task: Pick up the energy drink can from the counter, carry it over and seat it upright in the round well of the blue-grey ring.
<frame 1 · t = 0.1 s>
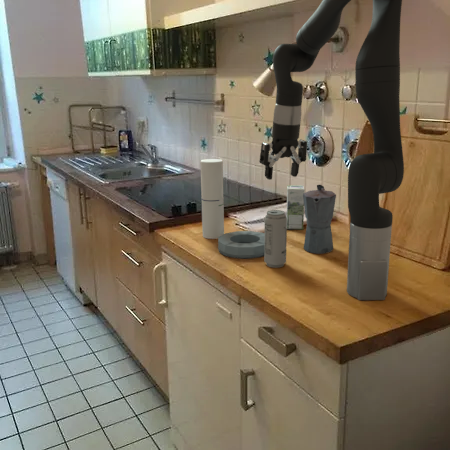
hand: (281, 177, 144), 22 cm above the countertop, tool pointing down, fingers open, 8 cm apart
syrup box: (294, 228, 173), on the countertop
moka pot: (317, 249, 151), on the countertop
energy drink can: (275, 265, 139), on the countertop
blue-grey ring: (244, 249, 152), on the countertop
cylindrical container: (213, 236, 166), on the countertop
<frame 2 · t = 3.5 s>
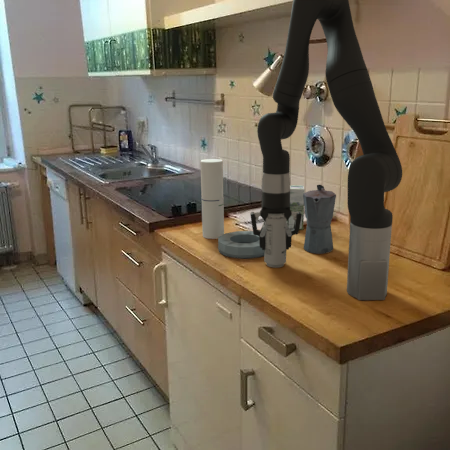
hand: (275, 248, 138), 5 cm above the countertop, tool pointing down, fingers closed on energy drink can, 6 cm apart
energy drink can: (275, 265, 139), on the countertop, touching gripper
everything else where it was.
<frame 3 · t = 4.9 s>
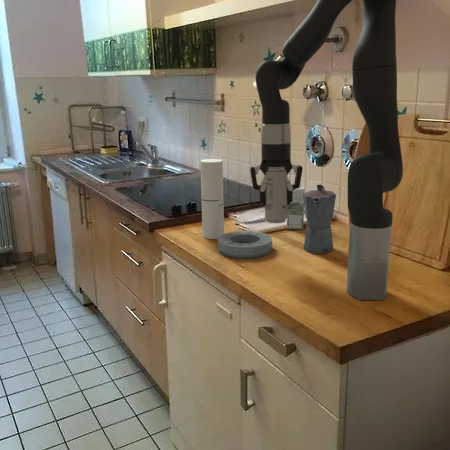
hand: (276, 204, 134), 17 cm above the countertop, tool pointing down, fingers closed on energy drink can, 6 cm apart
energy drink can: (276, 221, 135), point 12 cm above the countertop, touching gripper
everything else where it was.
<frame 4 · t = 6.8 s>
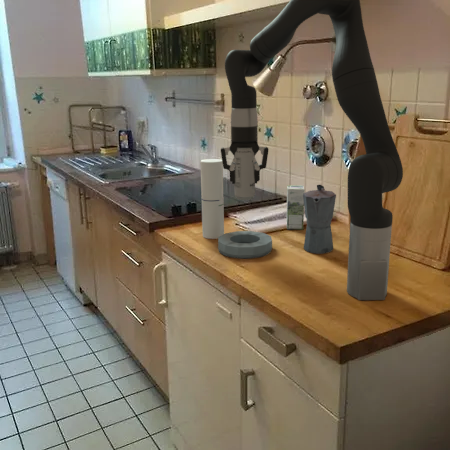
hand: (244, 182, 146), 21 cm above the countertop, tool pointing down, fingers closed on energy drink can, 6 cm apart
energy drink can: (244, 198, 147), point 16 cm above the countertop, touching gripper
everything else where it was.
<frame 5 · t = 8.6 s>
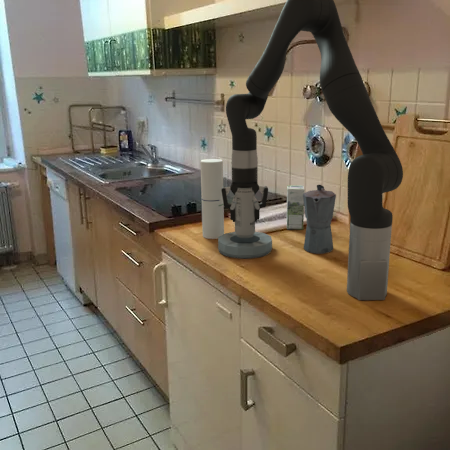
hand: (244, 221, 149), 9 cm above the countertop, tool pointing down, fingers closed on energy drink can, 6 cm apart
energy drink can: (245, 236, 150), point 4 cm above the countertop, touching gripper
everything else where it was.
when the fingers open (6 cm above the countertop, at t = 10.2 s): energy drink can stays where it is, resting on blue-grey ring.
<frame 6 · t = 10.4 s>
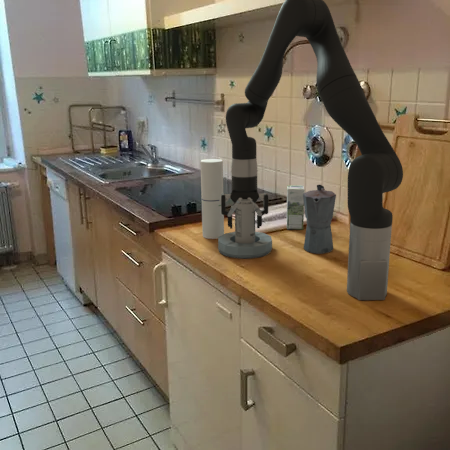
hand: (244, 227, 150), 7 cm above the countertop, tool pointing down, fingers open, 7 cm apart
energy drink can: (245, 247, 151), point 1 cm above the countertop, touching blue-grey ring
everything else where it was.
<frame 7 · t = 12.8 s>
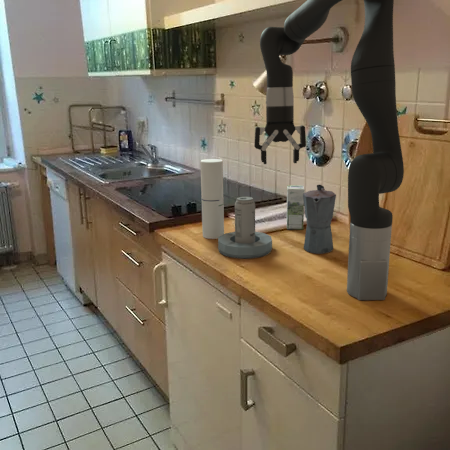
hand: (280, 163, 142), 27 cm above the countertop, tool pointing down, fingers open, 8 cm apart
nothing on the countertop moved.
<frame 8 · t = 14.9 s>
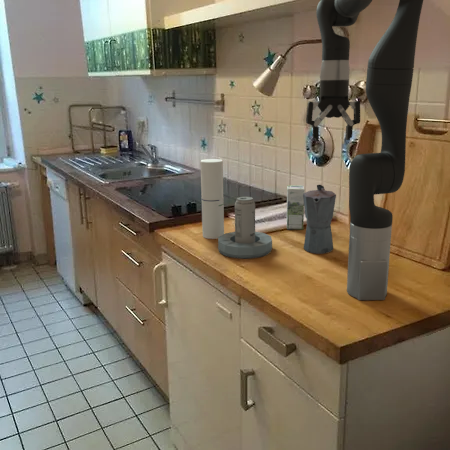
hand: (332, 140, 137), 33 cm above the countertop, tool pointing down, fingers open, 8 cm apart
nothing on the countertop moved.
at the end: energy drink can 0.1 cm off-centre on the blue-grey ring, point 0.8 cm above the blue-grey ring's base; energy drink can tilted 0°; the gripper is holding nothing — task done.
